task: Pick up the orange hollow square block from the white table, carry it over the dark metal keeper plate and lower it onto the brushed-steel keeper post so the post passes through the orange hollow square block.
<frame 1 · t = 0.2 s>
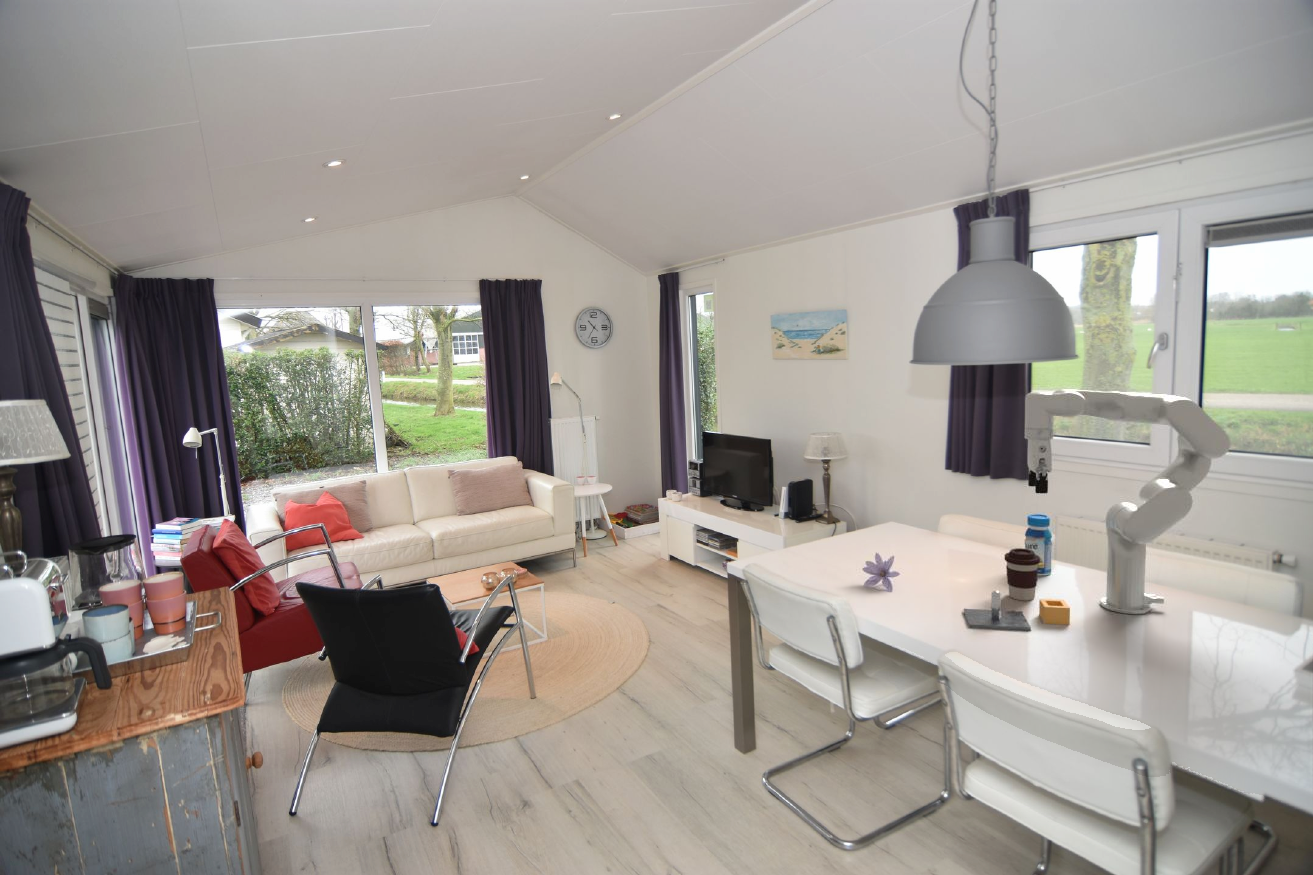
hand: (1037, 489, 213), 36 cm above the table, tool pointing down, fingers open, 9 cm apart
beverage bottle: (1037, 572, 244), on the table
coffee cup: (1021, 597, 224), on the table
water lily: (879, 587, 240), on the table
orange hollow square block: (1054, 619, 205), on the table
keeper: (995, 620, 207), on the table
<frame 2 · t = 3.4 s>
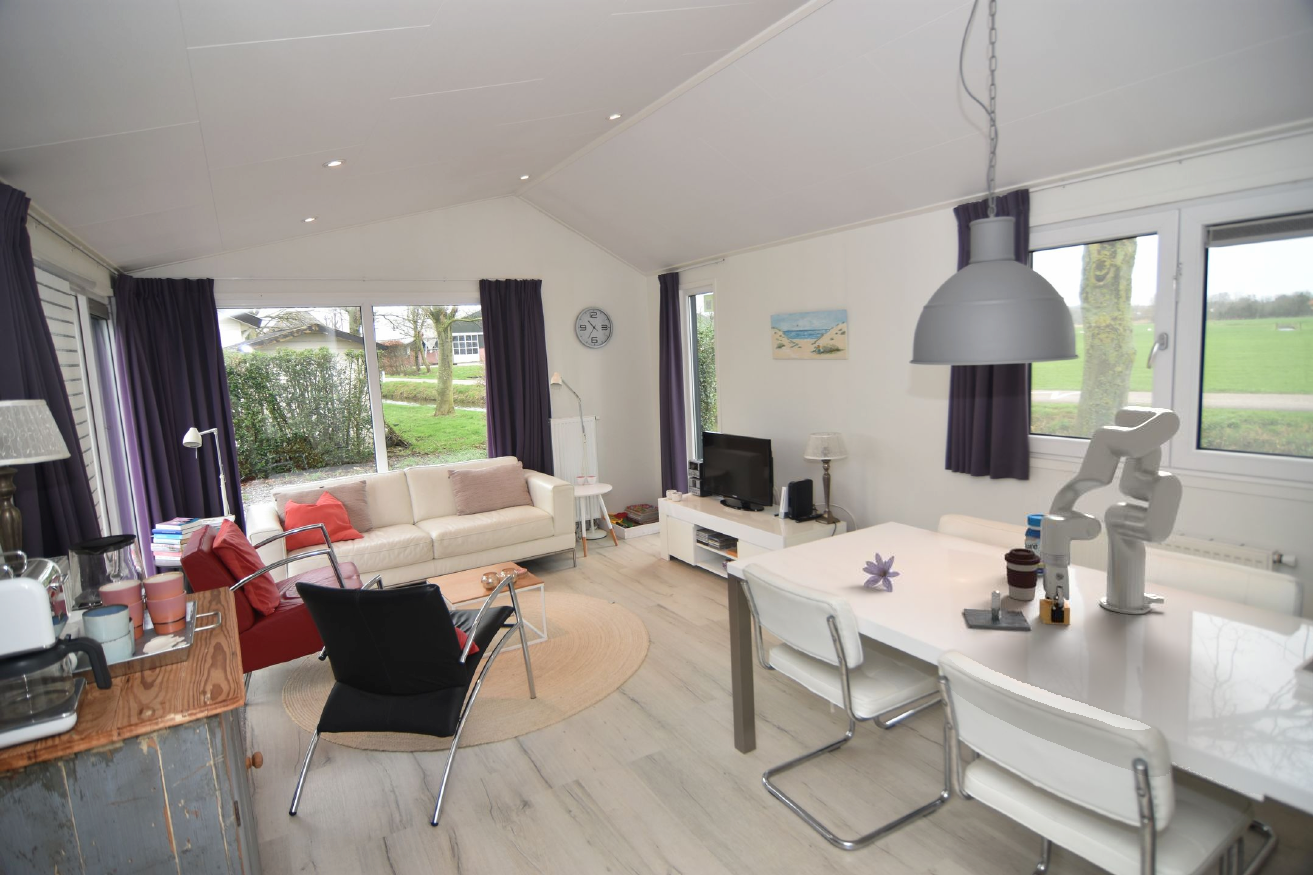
hand: (1054, 616, 205), 1 cm above the table, tool pointing down, fingers closed on orange hollow square block, 6 cm apart
orange hollow square block: (1054, 619, 205), on the table, touching gripper
everything else where it was.
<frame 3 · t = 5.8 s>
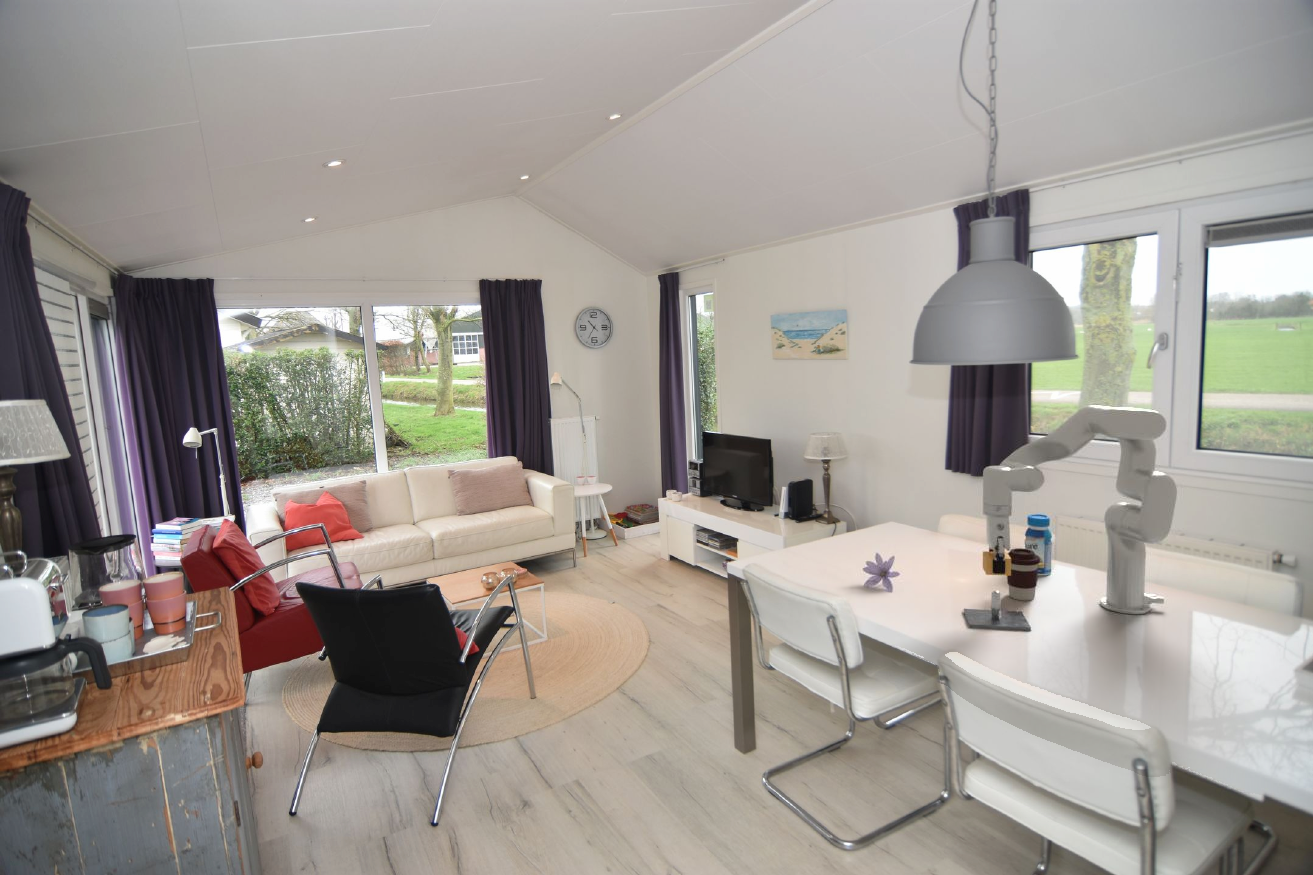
hand: (996, 568, 204), 16 cm above the table, tool pointing down, fingers closed on orange hollow square block, 6 cm apart
orange hollow square block: (996, 571, 205), point 15 cm above the table, touching gripper
everything else where it was.
when the fingers open (4 cm above the table, at t = 8.4 s): orange hollow square block drops 2 cm, resting on keeper.
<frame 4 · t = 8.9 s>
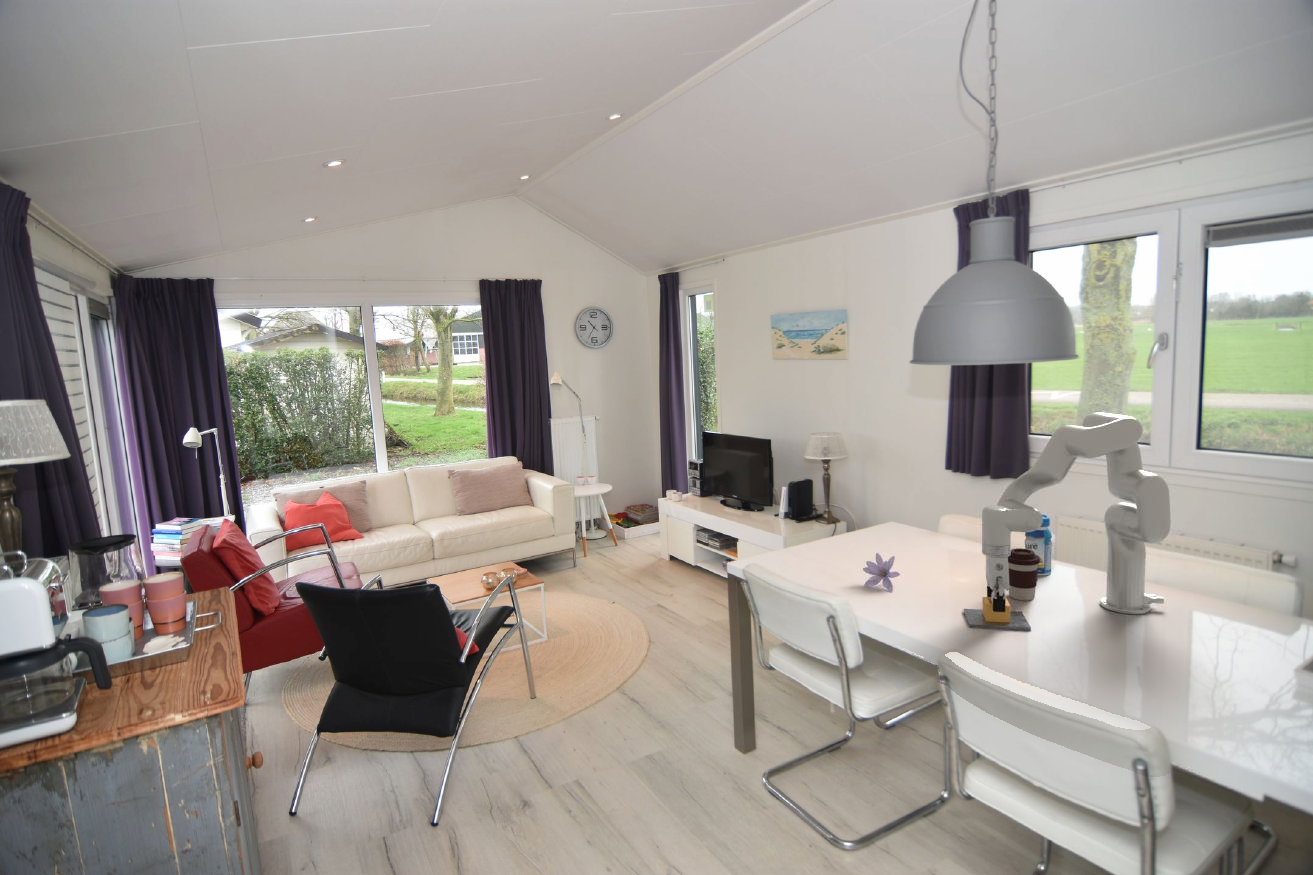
hand: (995, 605, 206), 5 cm above the table, tool pointing down, fingers open, 9 cm apart
orange hollow square block: (996, 617, 207), point 1 cm above the table, touching keeper
everything else where it was.
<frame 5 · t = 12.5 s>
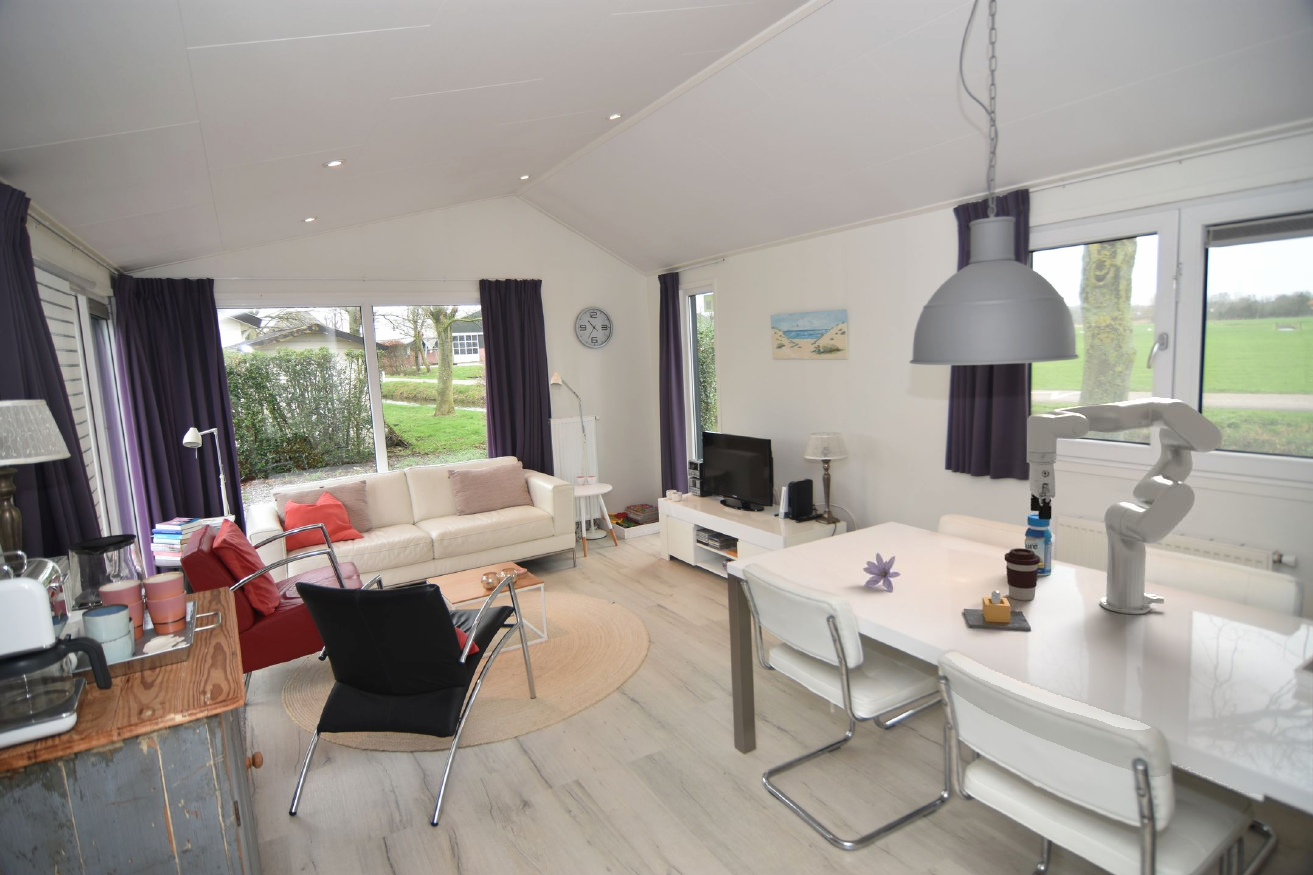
hand: (1040, 514, 206), 30 cm above the table, tool pointing down, fingers open, 9 cm apart
nothing on the table moved.
at the end: orange hollow square block 0.1 cm off-centre on the keeper, point 1.0 cm above the keeper's base; the gripper is holding nothing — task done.
